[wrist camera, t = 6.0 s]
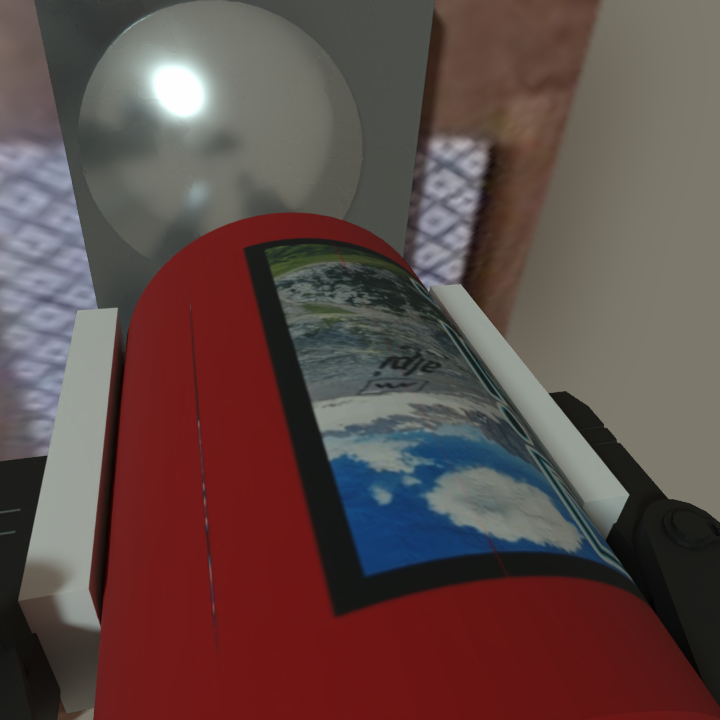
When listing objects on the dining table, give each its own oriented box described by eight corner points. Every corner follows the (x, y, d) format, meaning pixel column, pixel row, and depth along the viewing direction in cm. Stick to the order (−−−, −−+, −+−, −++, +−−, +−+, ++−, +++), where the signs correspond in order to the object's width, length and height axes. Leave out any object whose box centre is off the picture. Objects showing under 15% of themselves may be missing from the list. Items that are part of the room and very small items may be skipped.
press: (115, 416, 32) (100, 588, 24) (19, -34, 21) (-73, 4, 12) (378, 387, 36) (442, 528, 28) (422, -9, 24) (556, 33, 16)
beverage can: (461, 347, 16) (891, 975, 7) (250, 481, 17) (364, 1206, 7) (324, 126, 12) (981, 989, 2) (52, 319, 12) (-263, 1519, 3)
